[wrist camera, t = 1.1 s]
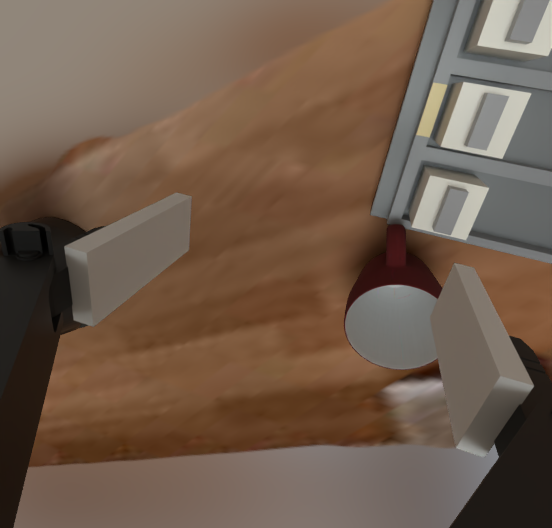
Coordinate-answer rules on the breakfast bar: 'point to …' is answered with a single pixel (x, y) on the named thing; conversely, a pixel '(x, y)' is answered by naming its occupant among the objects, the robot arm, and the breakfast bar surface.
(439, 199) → the tab
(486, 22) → the white and grey block
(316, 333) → the breakfast bar surface
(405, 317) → the mug
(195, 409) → the breakfast bar surface
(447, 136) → the tab
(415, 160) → the switch bank
